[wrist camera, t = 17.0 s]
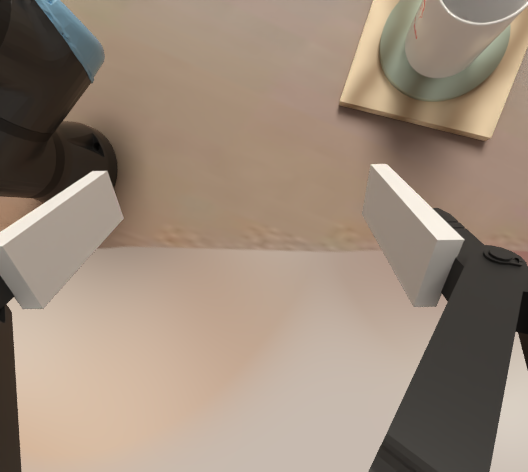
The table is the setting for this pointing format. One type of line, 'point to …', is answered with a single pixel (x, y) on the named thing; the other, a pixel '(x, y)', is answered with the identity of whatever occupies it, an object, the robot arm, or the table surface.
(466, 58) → the mug
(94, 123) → the table surface
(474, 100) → the serving board
